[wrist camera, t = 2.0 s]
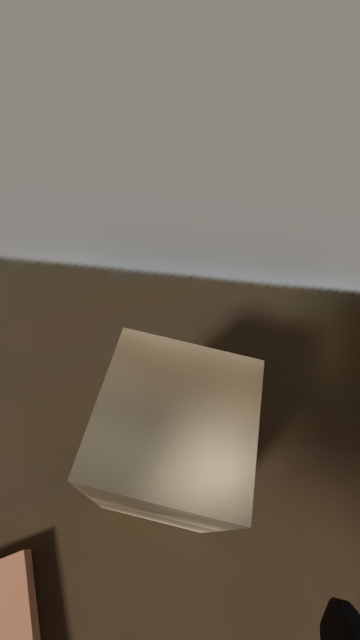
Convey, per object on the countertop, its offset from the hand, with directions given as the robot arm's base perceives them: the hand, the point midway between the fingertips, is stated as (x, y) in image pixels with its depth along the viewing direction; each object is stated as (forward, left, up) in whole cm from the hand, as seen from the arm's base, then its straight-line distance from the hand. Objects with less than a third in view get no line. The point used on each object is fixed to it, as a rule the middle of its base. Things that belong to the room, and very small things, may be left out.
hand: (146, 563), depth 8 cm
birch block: (+3, -2, -11) cm, 12 cm away
